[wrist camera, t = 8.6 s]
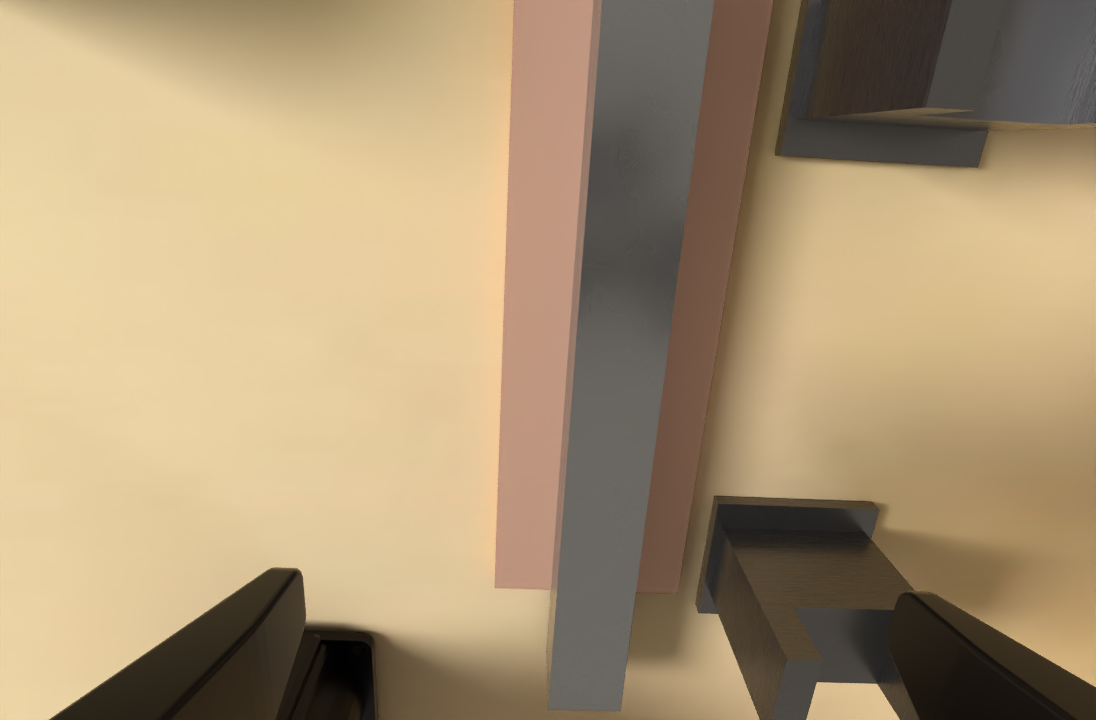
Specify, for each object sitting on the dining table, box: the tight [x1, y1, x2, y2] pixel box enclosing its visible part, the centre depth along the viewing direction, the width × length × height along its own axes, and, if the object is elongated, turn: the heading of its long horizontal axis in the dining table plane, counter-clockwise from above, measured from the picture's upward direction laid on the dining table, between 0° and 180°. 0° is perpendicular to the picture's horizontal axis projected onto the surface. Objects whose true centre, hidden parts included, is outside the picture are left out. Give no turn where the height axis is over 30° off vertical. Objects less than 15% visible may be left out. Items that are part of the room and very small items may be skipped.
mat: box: [495, 0, 774, 594], centre depth 19 cm, size 24×7×1 cm, turn 177°
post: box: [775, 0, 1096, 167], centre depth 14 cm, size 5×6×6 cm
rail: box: [546, 0, 714, 711], centre depth 18 cm, size 26×3×3 cm, turn 177°
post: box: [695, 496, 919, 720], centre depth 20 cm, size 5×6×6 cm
